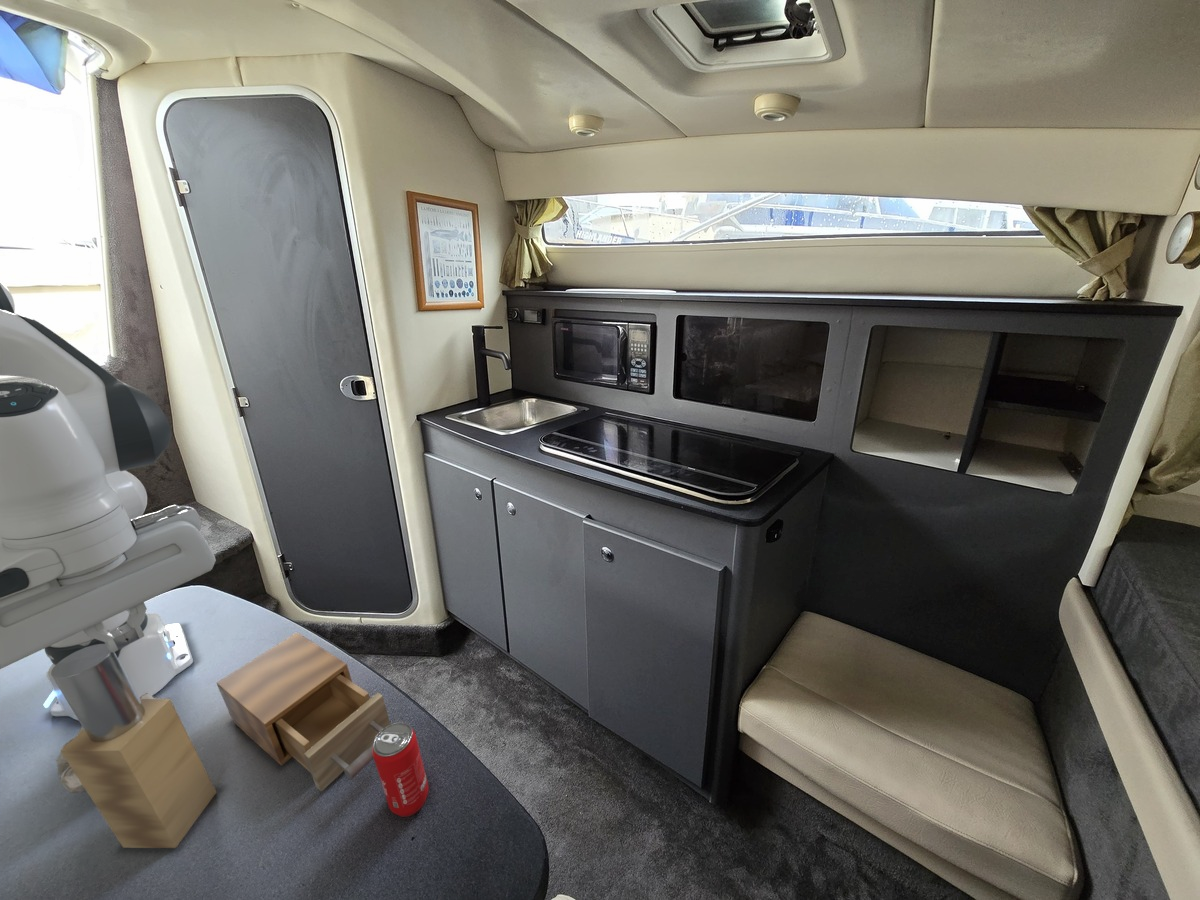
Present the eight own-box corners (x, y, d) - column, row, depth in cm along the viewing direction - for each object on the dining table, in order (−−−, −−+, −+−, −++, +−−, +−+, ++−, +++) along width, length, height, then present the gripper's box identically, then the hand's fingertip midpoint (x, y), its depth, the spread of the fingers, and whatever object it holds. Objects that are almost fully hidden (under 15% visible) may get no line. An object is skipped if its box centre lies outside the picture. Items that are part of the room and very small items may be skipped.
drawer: (412, 742, 74) (404, 709, 72) (342, 811, 65) (330, 776, 63) (340, 691, 84) (330, 661, 81) (270, 746, 75) (256, 713, 72)
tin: (94, 719, 60) (57, 656, 56) (147, 698, 63) (115, 637, 59) (84, 750, 56) (44, 685, 52) (141, 727, 59) (107, 663, 55)
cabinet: (358, 702, 82) (346, 663, 79) (281, 766, 73) (264, 724, 69) (309, 668, 90) (297, 631, 86) (233, 722, 80) (215, 682, 77)
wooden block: (123, 847, 63) (60, 750, 56) (168, 792, 70) (117, 698, 63) (175, 848, 63) (119, 750, 56) (216, 792, 69) (170, 698, 63)
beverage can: (417, 823, 65) (399, 761, 60) (381, 816, 66) (362, 754, 61) (436, 784, 69) (422, 723, 65) (403, 778, 70) (386, 717, 66)
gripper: (180, 492, 61) (215, 583, 66) (-87, 584, 45) (-12, 695, 50) (204, 504, 58) (239, 599, 63) (-73, 608, 42) (6, 723, 47)
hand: (126, 642), depth 56 cm, fingers closed
